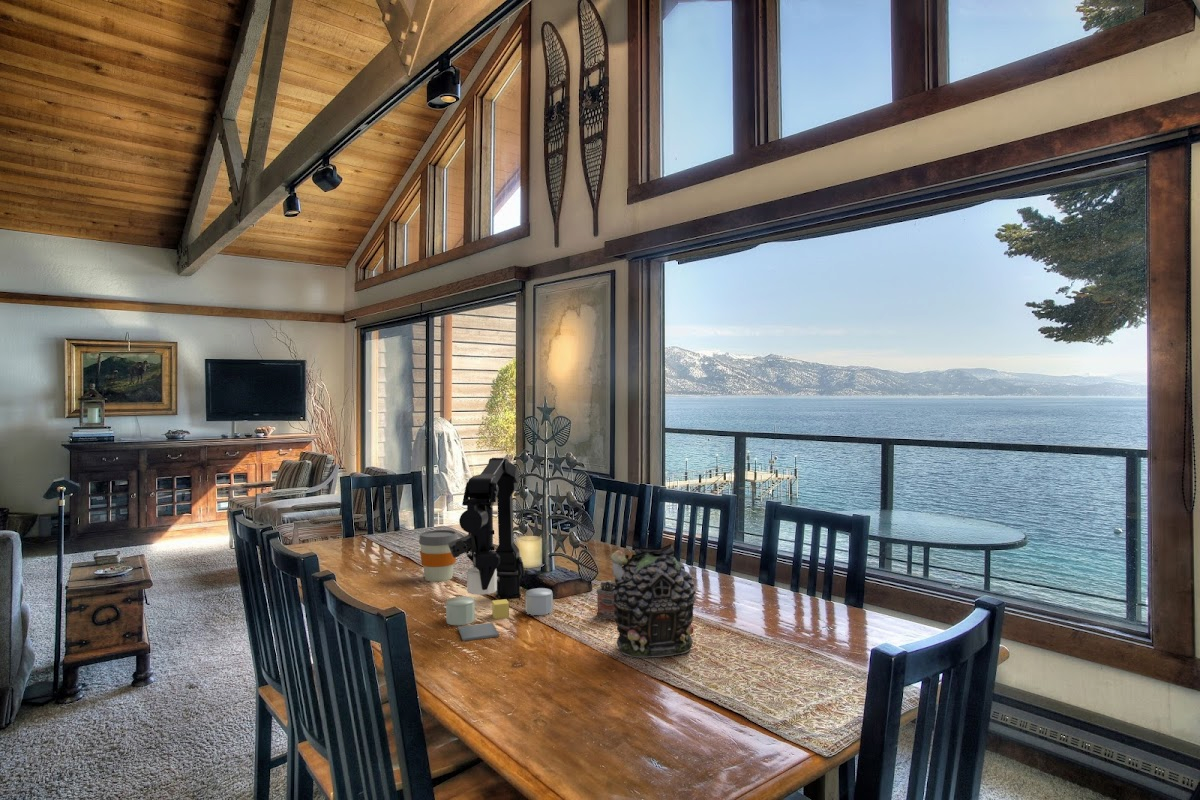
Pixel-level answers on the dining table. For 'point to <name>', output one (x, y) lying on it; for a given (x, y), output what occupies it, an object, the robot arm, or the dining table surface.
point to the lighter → (605, 600)
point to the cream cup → (479, 582)
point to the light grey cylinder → (539, 601)
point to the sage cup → (460, 610)
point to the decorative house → (652, 603)
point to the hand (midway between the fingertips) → (481, 585)
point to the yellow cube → (500, 609)
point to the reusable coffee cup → (437, 554)
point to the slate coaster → (478, 631)
